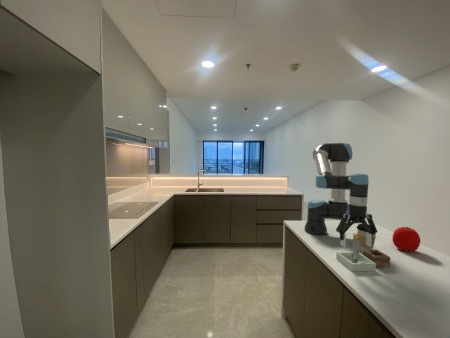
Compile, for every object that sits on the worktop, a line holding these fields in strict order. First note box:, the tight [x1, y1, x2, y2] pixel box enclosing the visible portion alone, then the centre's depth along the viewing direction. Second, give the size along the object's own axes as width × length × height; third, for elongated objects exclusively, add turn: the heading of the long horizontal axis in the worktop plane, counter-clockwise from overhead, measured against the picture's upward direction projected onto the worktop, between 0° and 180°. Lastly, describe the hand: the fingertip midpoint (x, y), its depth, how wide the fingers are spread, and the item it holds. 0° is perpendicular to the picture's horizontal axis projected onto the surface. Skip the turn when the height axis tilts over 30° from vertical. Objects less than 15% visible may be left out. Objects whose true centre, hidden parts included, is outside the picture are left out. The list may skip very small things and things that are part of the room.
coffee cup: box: [356, 223, 377, 253], centre depth 115 cm, size 10×10×15 cm
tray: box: [335, 251, 377, 272], centre depth 101 cm, size 12×12×4 cm
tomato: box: [392, 226, 421, 253], centre depth 118 cm, size 13×11×14 cm
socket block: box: [362, 249, 391, 268], centre depth 103 cm, size 8×8×5 cm
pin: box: [351, 233, 360, 263], centre depth 101 cm, size 3×3×15 cm
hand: (355, 245), depth 101 cm, fingers open, 13 cm apart
